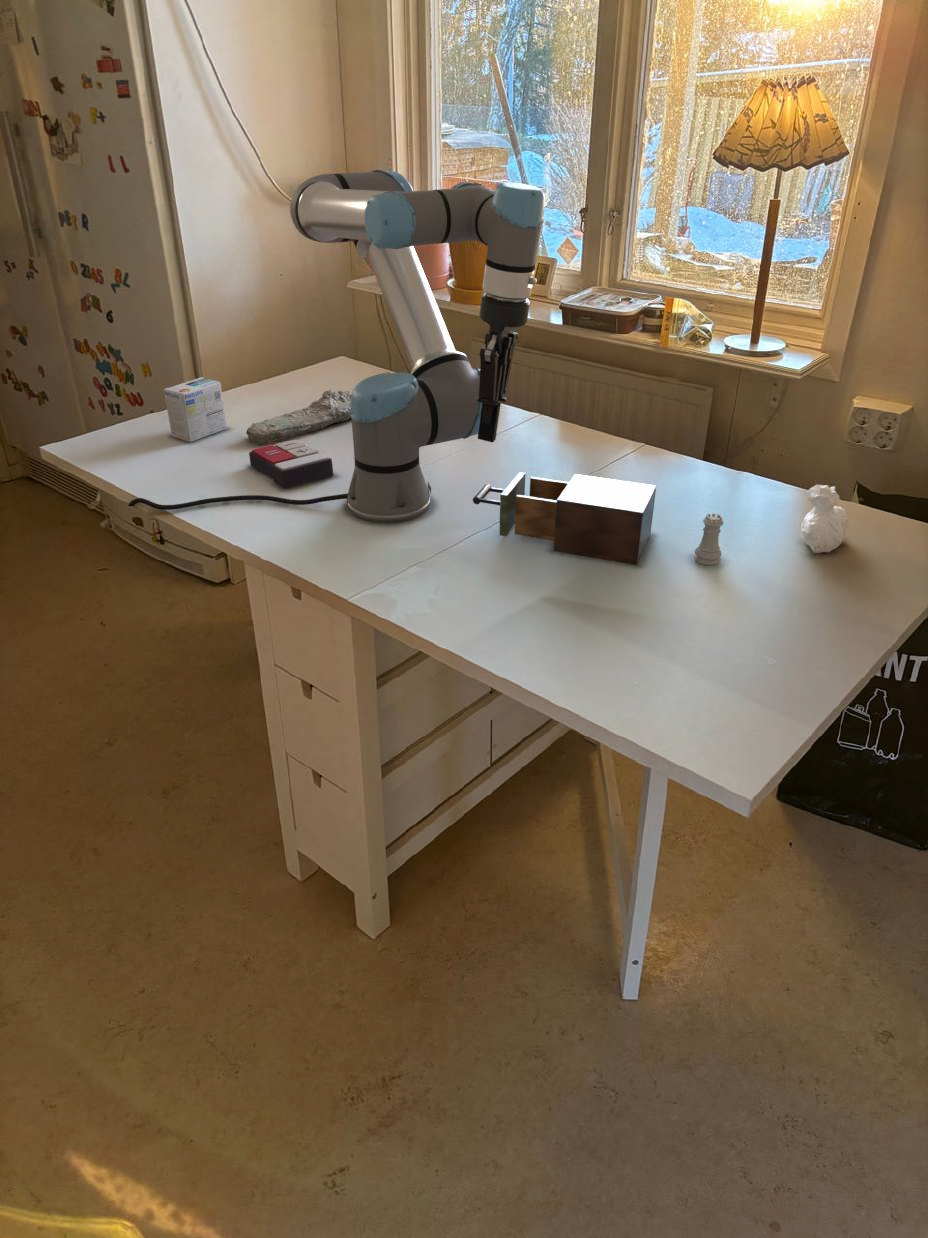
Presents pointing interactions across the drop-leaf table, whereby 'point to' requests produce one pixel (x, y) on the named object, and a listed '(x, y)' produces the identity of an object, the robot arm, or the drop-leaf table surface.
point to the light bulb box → (195, 409)
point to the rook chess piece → (709, 541)
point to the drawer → (526, 506)
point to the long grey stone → (303, 418)
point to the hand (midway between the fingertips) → (486, 439)
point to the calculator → (291, 463)
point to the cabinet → (604, 518)
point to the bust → (824, 520)
